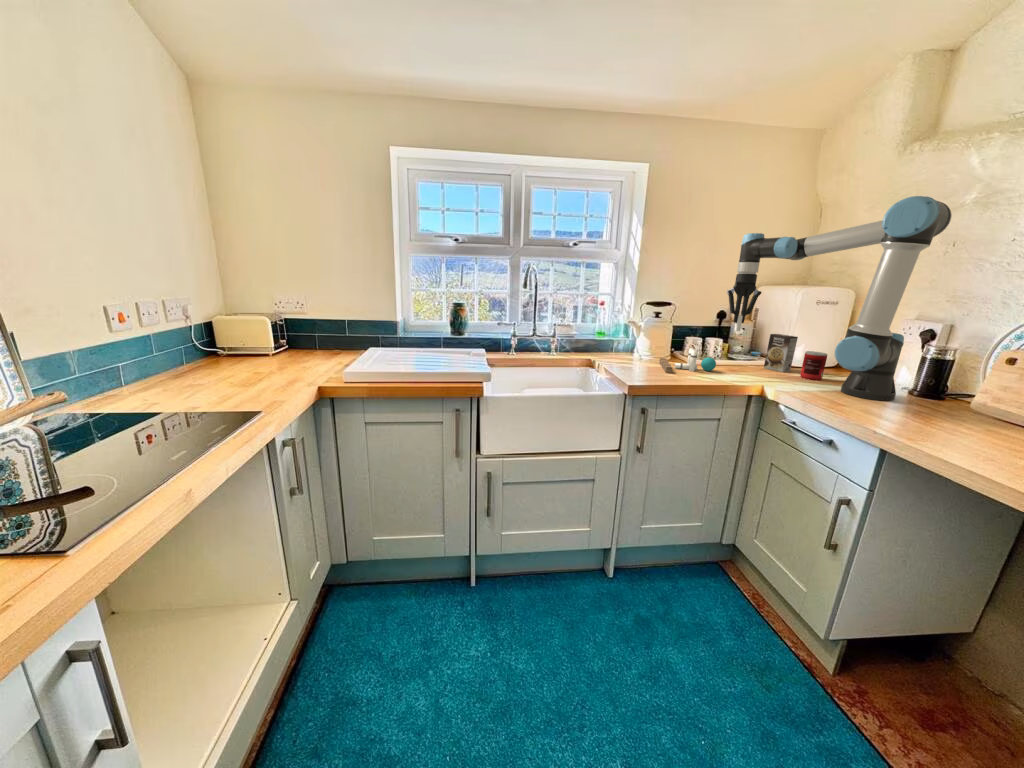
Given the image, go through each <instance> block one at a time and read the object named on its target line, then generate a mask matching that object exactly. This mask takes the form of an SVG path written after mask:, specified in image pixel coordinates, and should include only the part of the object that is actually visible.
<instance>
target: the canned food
mask: <svg viewBox="0 0 1024 768" xmlns="http://www.w3.org/2000/svg"><path fill="white" fill-rule="evenodd" d="M827 359H828V353H826V352H822V351H821V352H820V351H813V350H812V351H811V350H810V351H809V350H807V351H805V353H804V356H803V361H802V365H801V370H800V375H799V376H800V378H801V377H802V378H801V379H804V378H805V379H804V380H808V379H809V380H808V381H821V380H822V379H823V376H824V371H825V367H826V363H827Z"/></svg>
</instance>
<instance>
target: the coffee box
mask: <svg viewBox="0 0 1024 768" xmlns="http://www.w3.org/2000/svg"><path fill="white" fill-rule="evenodd" d="M798 338H799V337H798V336H796V335H788V334H780V333H771V334H769V339H768V345H767V348H766V349H767V350H766V354H765V358H764V365H763V369H765V370H766V369H767V370H770V371H775V372H778V373H789V372H791V370H792V364H793V360H794V356H795V351H796V346H797V342H798V340H799V339H798Z"/></svg>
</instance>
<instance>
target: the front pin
mask: <svg viewBox="0 0 1024 768" xmlns="http://www.w3.org/2000/svg"><path fill="white" fill-rule="evenodd" d="M689 366H690V364H687V363H681V362H680V363H679V362H675V363H674V369H679V370H689ZM697 370H698V364H696V366H695V371H697Z"/></svg>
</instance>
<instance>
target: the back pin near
mask: <svg viewBox="0 0 1024 768" xmlns="http://www.w3.org/2000/svg"><path fill="white" fill-rule="evenodd" d="M698 352H699V351H698V350H696V349H695V350H692V352H691V359H690V366H689V369H688V371H689V372H692V371H694V372H695V371H696V370H695V366H696V365H697V358H698Z"/></svg>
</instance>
